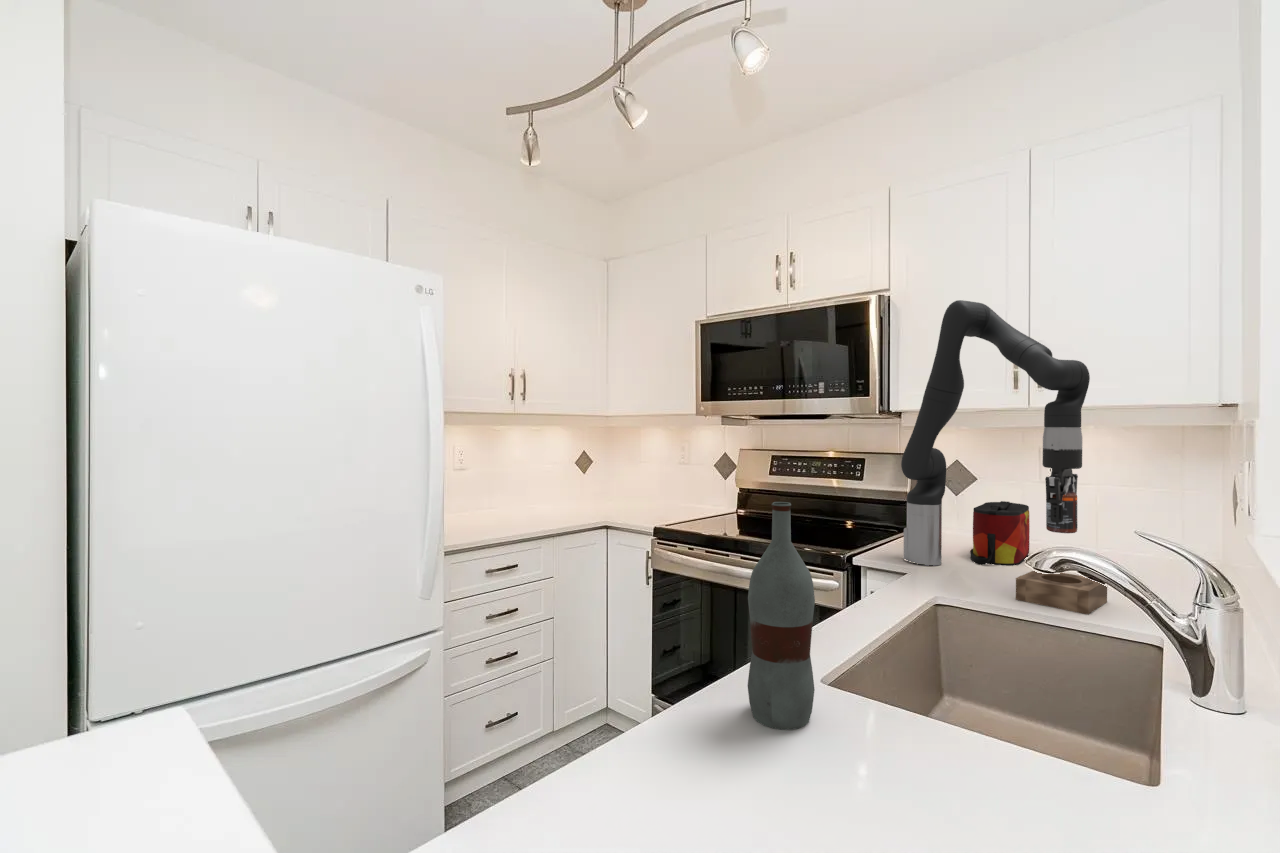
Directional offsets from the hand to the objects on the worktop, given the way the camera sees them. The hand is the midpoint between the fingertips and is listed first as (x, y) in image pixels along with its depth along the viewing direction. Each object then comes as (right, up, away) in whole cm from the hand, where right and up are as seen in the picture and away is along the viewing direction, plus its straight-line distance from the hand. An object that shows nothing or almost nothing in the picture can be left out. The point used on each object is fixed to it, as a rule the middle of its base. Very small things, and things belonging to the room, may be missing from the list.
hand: (1061, 520), depth 142 cm
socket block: (0, -18, 0) cm, 18 cm away
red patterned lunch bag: (+11, -18, +45) cm, 50 cm away
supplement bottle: (0, -3, 0) cm, 3 cm away
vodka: (-77, -19, -55) cm, 96 cm away
